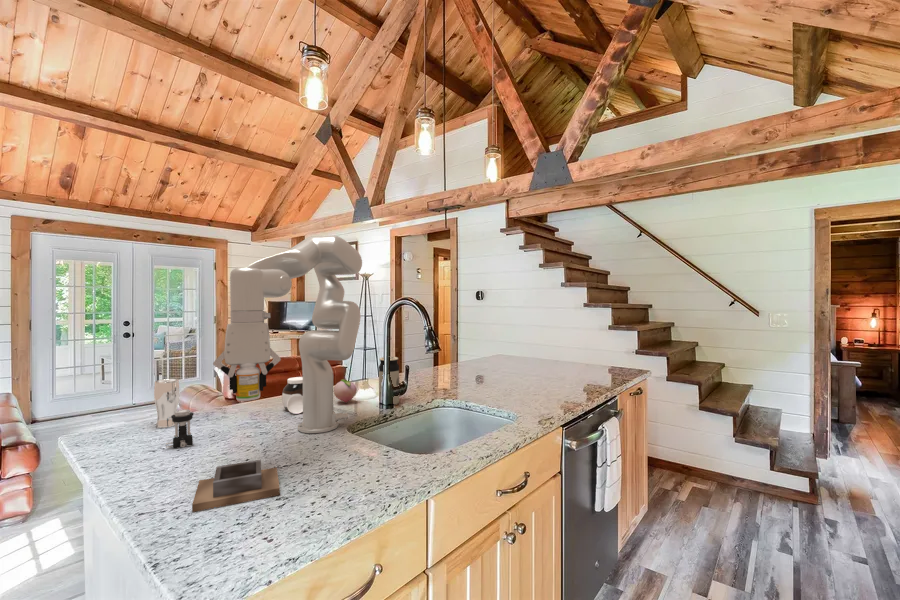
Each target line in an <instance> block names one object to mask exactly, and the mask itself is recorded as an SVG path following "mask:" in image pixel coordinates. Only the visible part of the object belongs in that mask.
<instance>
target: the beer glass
mask: <svg viewBox="0 0 900 600" xmlns="http://www.w3.org/2000/svg"><path fill="white" fill-rule="evenodd" d="M153 397H154V398H153V399H154V405H155V409H156V415H157V419H156V424H155V427H156V428H157V429H169V428H173V427H175V422H173V421H172V418H171V416H172V415H174V414H175V412H176V411H178V407H179V400H180V382H179V379H178V378H164V379H159V380H155V381H154V390H153ZM168 417H169V418H168ZM172 426H173V427H172Z"/></svg>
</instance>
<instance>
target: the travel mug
mask: <svg viewBox="0 0 900 600" xmlns="http://www.w3.org/2000/svg"><path fill="white" fill-rule="evenodd" d="M384 357H385V356H384ZM384 357H380V358H379V361H380V364H379V366H378V400H379V401H380V388H381V382H382V379H383V376H382V375H383V365H384ZM389 357H390V375H391V376H390V377H391V380H392V384H393V386H394V387H396V386H398V385H399V386H400V366H399V363H398V360H399V357H397V356H389ZM379 401H378V402H379ZM393 401H394V405H397V404H399V403H400V394H399V395H398V396H394V398H393Z"/></svg>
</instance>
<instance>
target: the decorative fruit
mask: <svg viewBox="0 0 900 600" xmlns="http://www.w3.org/2000/svg"><path fill="white" fill-rule="evenodd" d="M356 393H357V386H356V384H355V383H354V382H353V381H349V380H347V378H346V377H345V378H343V379H340V381H338V382H337V383H336V384H335V385H334V386H333V396H335V398H336V399H338V400H339V401H341V402H343V403H344V404H347V403H348V402H350V401H351V400H352V399H353V398H354V397H355V396H356Z"/></svg>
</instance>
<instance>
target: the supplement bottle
mask: <svg viewBox="0 0 900 600" xmlns="http://www.w3.org/2000/svg"><path fill="white" fill-rule="evenodd" d="M257 365H258V364H253V363H245V364H242V365H238V366H239V367H240V368H237V370H235V375H236V393H235V398H236V400H237V401H240V402H248V401H255V400H258V399H260V397H261V391H260V374H261V368H260V367H258V366H257Z"/></svg>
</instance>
